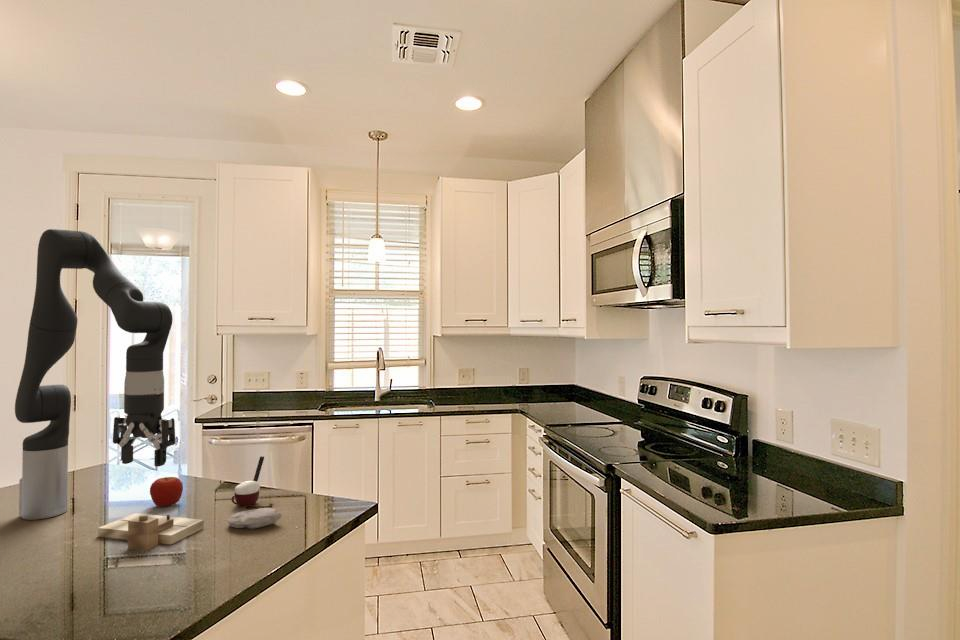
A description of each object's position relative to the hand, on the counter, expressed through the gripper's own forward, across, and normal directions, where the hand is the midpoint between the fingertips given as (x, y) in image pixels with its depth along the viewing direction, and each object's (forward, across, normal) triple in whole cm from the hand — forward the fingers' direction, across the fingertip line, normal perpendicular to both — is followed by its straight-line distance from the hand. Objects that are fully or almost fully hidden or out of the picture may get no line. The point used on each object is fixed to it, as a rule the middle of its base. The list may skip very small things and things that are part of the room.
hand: (143, 464), depth 119 cm
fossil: (+18, +16, +17) cm, 29 cm away
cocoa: (+18, +4, +30) cm, 36 cm away
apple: (+18, -16, +24) cm, 35 cm away
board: (+18, -5, +7) cm, 20 cm away
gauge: (+18, 0, +3) cm, 18 cm away
